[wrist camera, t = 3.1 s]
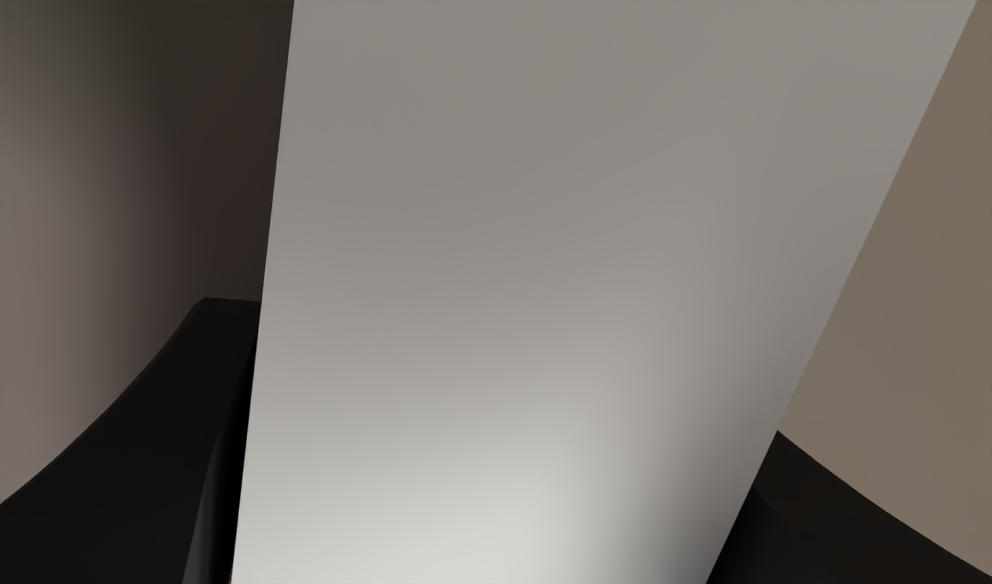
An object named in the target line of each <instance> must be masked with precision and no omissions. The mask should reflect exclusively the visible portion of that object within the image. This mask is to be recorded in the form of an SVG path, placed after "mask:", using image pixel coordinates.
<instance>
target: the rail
mask: <svg viewBox="0 0 992 584" xmlns="http://www.w3.org/2000/svg"><path fill="white" fill-rule="evenodd" d="M976 2H977V0H294V9H293V18H292V28H291V37H290V46H289V55H288V64H287V74H286V83H285V92H284V101H283V111H282V120H281V129H280V138H279V147H278V157H277V166H276V175H275V184H274V194H273V203H272V212H271V221H270V230H269V240H268V249H267V258H266V267H265V277H264V286H263V295H262V304H261V313H260V323H259V332H258V341H257V350H256V360H255V369H254V378H253V387H252V396H251V406H250V415H249V424H248V433H247V443H246V452H245V461H244V470H243V479H242V489H241V498H240V507H239V516H238V526H237V535H236V544H235V553H234V562H233V572H232V581H231V584H706V582H707V580H708V578H709V575H710V573H711V571H712V569H713V567H714V565H715V563H716V560H717V558H718V556H719V554H720V552H721V550H722V547H723V545H724V543H725V541H726V539H727V537H728V535H729V532H730V530H731V528H732V526H733V524H734V522H735V520H736V517H737V515H738V513H739V511H740V509H741V507H742V505H743V502H744V500H745V498H746V496H747V494H748V492H749V489H750V487H751V485H752V483H753V481H754V479H755V477H756V474H757V472H758V470H759V468H760V466H761V464H762V462H763V459H764V457H765V455H766V453H767V451H768V449H769V447H770V444H771V442H772V440H773V438H774V436H775V434H776V431H777V429H778V427H779V425H780V423H781V421H782V419H783V416H784V414H785V412H786V410H787V408H788V406H789V404H790V401H791V399H792V397H793V395H794V393H795V391H796V389H797V386H798V384H799V382H800V380H801V378H802V376H803V373H804V371H805V369H806V367H807V365H808V363H809V361H810V358H811V356H812V354H813V352H814V350H815V348H816V346H817V343H818V341H819V339H820V337H821V335H822V333H823V331H824V328H825V326H826V324H827V322H828V320H829V318H830V315H831V313H832V311H833V309H834V307H835V305H836V303H837V300H838V298H839V296H840V294H841V292H842V290H843V288H844V285H845V283H846V281H847V279H848V277H849V275H850V272H851V270H852V268H853V266H854V264H855V262H856V260H857V257H858V255H859V253H860V251H861V249H862V247H863V245H864V242H865V240H866V238H867V236H868V234H869V232H870V230H871V227H872V225H873V223H874V221H875V219H876V217H877V214H878V212H879V210H880V208H881V206H882V204H883V202H884V199H885V197H886V195H887V193H888V191H889V189H890V187H891V184H892V182H893V180H894V178H895V176H896V174H897V172H898V169H899V167H900V165H901V163H902V161H903V159H904V156H905V154H906V152H907V150H908V148H909V146H910V144H911V141H912V139H913V137H914V135H915V133H916V131H917V129H918V126H919V124H920V122H921V120H922V118H923V116H924V114H925V111H926V109H927V107H928V105H929V103H930V101H931V98H932V96H933V94H934V92H935V90H936V88H937V86H938V83H939V81H940V79H941V77H942V75H943V73H944V71H945V68H946V66H947V64H948V62H949V60H950V58H951V56H952V53H953V51H954V49H955V47H956V45H957V43H958V40H959V38H960V36H961V34H962V32H963V30H964V28H965V25H966V23H967V21H968V19H969V17H970V15H971V13H972V10H973V8H974V6H975V4H976Z"/></svg>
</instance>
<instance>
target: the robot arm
mask: <svg viewBox="0 0 992 584" xmlns="http://www.w3.org/2000/svg"><path fill="white" fill-rule="evenodd" d="M261 304H262V302H255V301H243V300H232V299H220V298H208V297H204V298H203V299H202V300H200V301H199V302H197V303H196V304H195V305H193V307H192V308H191V310H190V312H189V313H188V315H187V316H186V318H185V319H184V320H183V322H182V323H181V325H180V326H179V327H178V329H177V330H176V331H175V333H174V334H173V335H172V336H171V338H170V339H169V340H168V342H167V343H166V344H165V345H164V346H163V348H162V349H161V350H160V351H159V352H158V354H157V355H156V356H155V357H154V359H153V360H152V361H151V362H150V363H149V364H148V365H147V367H146V368H145V369H144V370H143V371H142V372H141V373H140V374H139V375H138V376H137V378H136V379H135V380H134V381H133V382H132V383H131V384H130V385H129V386H128V387H127V389H126V390H125V391H124V392H123V393H122V394H121V395H120V396H119V397H118V398H117V399H116V401H115V402H114V403H113V404H112V405H111V406H110V407H109V408H108V409H107V410H106V411H105V412H104V413H103V414H102V415H101V416H99V417H98V418H97V419H96V420H95V421H94V422H93V423H92V424H91V425H90V426H89V427H88V428H87V429H86V430H85V431H84V432H83V433H82V434H81V435H80V436H79V437H78V438H76V439H75V440H74V441H73V442H72V443H71V444H70V445H69V446H68V447H67V448H66V449H65V450H64V451H63V452H62V453H61V454H60V455H58V456H57V457H56V458H55V459H54V460H53V461H52V462H51V463H49V464H48V465H47V466H46V467H45V468H44V469H42V470H41V471H40V472H39V473H38V474H37V475H36V476H34V477H33V478H32V479H31V480H30V481H28V482H27V483H26V484H25V485H24V486H22V487H21V488H20V489H19V490H17V491H16V492H15V493H14V494H12V495H11V496H10V497H9V498H7V499H6V500H5V501H3V502H2V503H1V504H0V584H228V582H229V578H230V573H231V569H232V564H233V560H234V553H235V544H236V535H237V526H238V516H239V507H240V498H241V489H242V479H243V470H244V461H245V452H246V443H247V433H248V424H249V415H250V406H251V396H252V387H253V378H254V369H255V360H256V350H257V341H258V332H259V323H260V313H261ZM706 584H992V577H991V576H989V575H988V574H986V573H984V572H982V571H980V570H979V569H977V568H975V567H974V566H972V565H970V564H969V563H967V562H965V561H963V560H962V559H960V558H958V557H957V556H955V555H953V554H952V553H950V552H948V551H947V550H945V549H944V548H942V547H940V546H939V545H937V544H936V543H934V542H933V541H931V540H930V539H928V538H926V537H925V536H923V535H922V534H920V533H919V532H917V531H915V530H914V529H912V528H911V527H909V526H908V525H906V524H905V523H903V522H901V521H900V520H898V519H897V518H895V517H894V516H892V515H891V514H889V513H888V512H886V511H885V510H883V509H882V508H880V507H879V506H877V505H876V504H875V503H873V502H872V501H870V500H869V499H867V498H866V497H864V496H863V495H862V494H860V493H859V492H858V491H856V490H855V489H854V488H852V487H851V486H849V485H848V484H847V483H845V482H844V481H843V480H841V479H840V478H839V477H837V476H836V475H835V474H833V473H832V472H831V471H829V470H828V469H826V468H825V467H824V466H822V465H821V464H820V463H818V462H817V461H816V460H814V459H813V458H812V457H811V456H809V455H808V454H807V453H805V452H804V451H803V450H802V449H800V448H799V447H798V446H797V445H795V444H794V443H793V442H791V441H790V440H789V439H788V438H786V437H785V436H784V435H783V434H781V433H780V432H779V431H778V430H777V431H776V434H775V436H774V438H773V440H772V442H771V444H770V447H769V449H768V451H767V453H766V455H765V457H764V459H763V462H762V464H761V466H760V468H759V470H758V472H757V474H756V477H755V479H754V481H753V483H752V485H751V487H750V489H749V492H748V494H747V496H746V498H745V500H744V502H743V505H742V507H741V509H740V511H739V513H738V515H737V517H736V520H735V522H734V524H733V526H732V528H731V530H730V532H729V535H728V537H727V539H726V541H725V543H724V545H723V547H722V550H721V552H720V554H719V556H718V558H717V560H716V563H715V565H714V567H713V569H712V571H711V573H710V575H709V578H708V580H707V582H706Z"/></svg>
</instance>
